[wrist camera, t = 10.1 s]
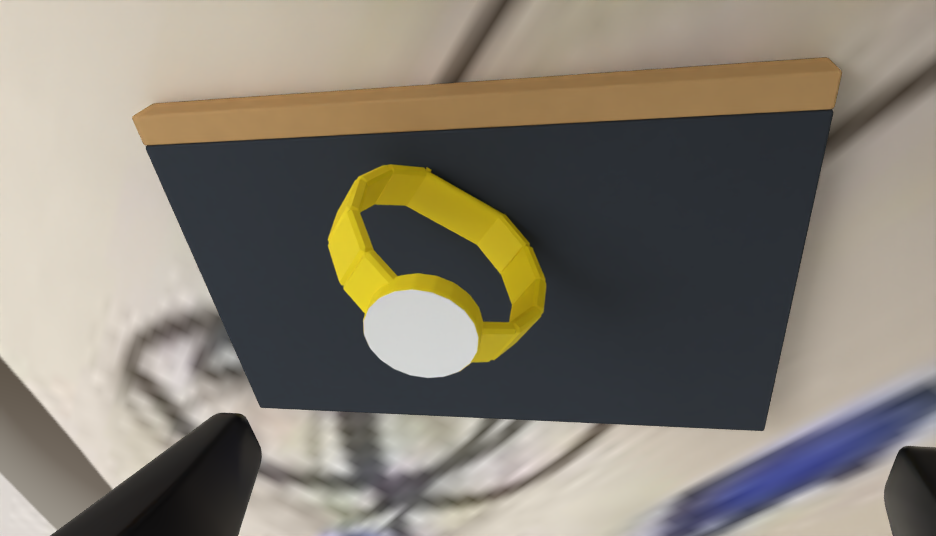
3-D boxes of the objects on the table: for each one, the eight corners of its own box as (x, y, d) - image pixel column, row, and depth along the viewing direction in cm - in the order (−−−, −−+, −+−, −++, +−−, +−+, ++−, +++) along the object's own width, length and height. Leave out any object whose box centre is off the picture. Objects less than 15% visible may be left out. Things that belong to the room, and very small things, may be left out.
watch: (355, 188, 19) (275, 307, 14) (395, 118, 18) (320, 225, 13) (515, 285, 20) (490, 425, 15) (566, 227, 19) (555, 363, 14)
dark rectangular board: (828, 56, 16) (843, 70, 15) (757, 406, 23) (764, 432, 22) (152, 102, 20) (130, 116, 19) (271, 388, 27) (259, 408, 26)
